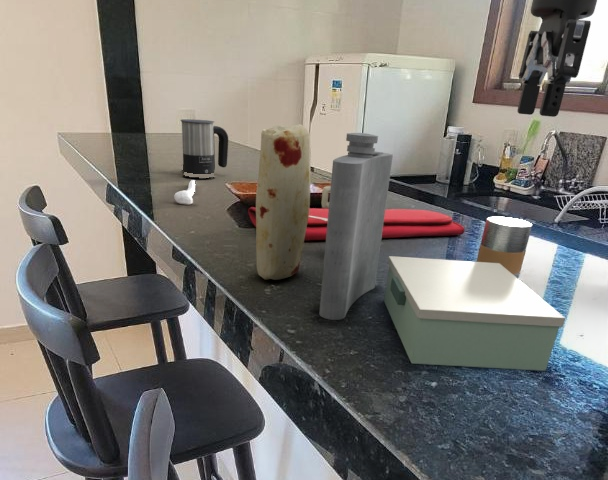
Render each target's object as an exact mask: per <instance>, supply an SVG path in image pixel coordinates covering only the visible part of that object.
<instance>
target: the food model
mask: <svg viewBox="0 0 608 480" xmlns="http://www.w3.org/2000/svg"><path fill="white" fill-rule="evenodd" d="M260 134H261V136H260V148H259V149H260V150H259V159H258V160H259V161H258V173H257V174H258V175H257V184H256V192H255V207H256V227H255V228H256V229H255V231H256V232H255V233H256V234H255V235H256V237H255V238H256V239H255V240H256V241H255V243H256V244H255V245H256V247H255V249H256V252H255V253H256V270H257V275H258V276H259V277H261V278H262V279H264V280H265V281H266V280H267V281H268V280H273V281H279V280H282V279H286V278H287V279H288V278H289V277H292V276H294V275H295V274H296V273H297V272H299V269H300V265H301V264H300V263H301V258H302V252H303V248H304V242H305V241H304V238H305V233H306V228H307V222H308V217H309V208H311V207H310V206H311V176H312V175H311V156H312V155H311V152H312V151H311V132H310V131H309V129H308V128H307V127H305V126H304V125H303V124H301V123H298V124H294V125H291V126H281V125H274V126H272V127H269V128H267V129H265V128H263V129H262V131H261V133H260Z"/></svg>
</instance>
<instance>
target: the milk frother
mask: <svg viewBox="0 0 608 480" xmlns="http://www.w3.org/2000/svg"><path fill="white" fill-rule="evenodd" d="M180 123H181V139H182V140H181V143H182V165H183V170H182V172H183V171H184V172H187V173H193V174H211V173H214V172H215V170H216V156H215V152H216V151H215V135H217V138H218V147H217V148H218V149H217V150H218V151H217V153H218V154H217V164H218V167H221V168H226V167H227V166H228V156H229V155H228V154H229V135H228V133H227V131H226V130H225V129H224V128H223V127H221V126H218V125H214V123H215V121H213V120H208V119H207V120H206V119H192V118H191V119H190V118H189V119H182V118H181V119H180ZM182 175H183V174H182ZM183 176H185V175H183ZM183 176H182V177H183ZM186 177H189V176H185V177H184V178H186ZM191 178H199V177H190V178H189V179H191ZM209 178H211V179H214V178H213V177H209ZM198 180H207V179H206V178H199V179H198Z"/></svg>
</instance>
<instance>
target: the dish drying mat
mask: <svg viewBox="0 0 608 480" xmlns="http://www.w3.org/2000/svg"><path fill="white" fill-rule="evenodd" d="M328 211H329V208H316V207H315V208H314V207H313V208H311V207H309V217H308V222H307V228H306V233H305V238H304V242H305V241H308V242H309V241H326V234H327V223H328ZM247 213H248V216H249V218H250V219H249V220H250V221H251V223H252V224H253V225H254V227H255V228H256V206H255V207H254V206H251V207H249V208H248V212H247ZM465 232H466V230H465V226H463V225H461V224H460V223H458V222H455V221H453V217H452V216H450V215H447V214H444V213H441V212H438V211H433V210H425V209H408V208H407V209H406V208H391V209H387V208H386V209H385V216H384V223H383V231H382V238H381V239H392V238H394V239H395V238H411V237H443V236H445V237H446V236H461V235H463V234H464V233H465Z"/></svg>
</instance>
